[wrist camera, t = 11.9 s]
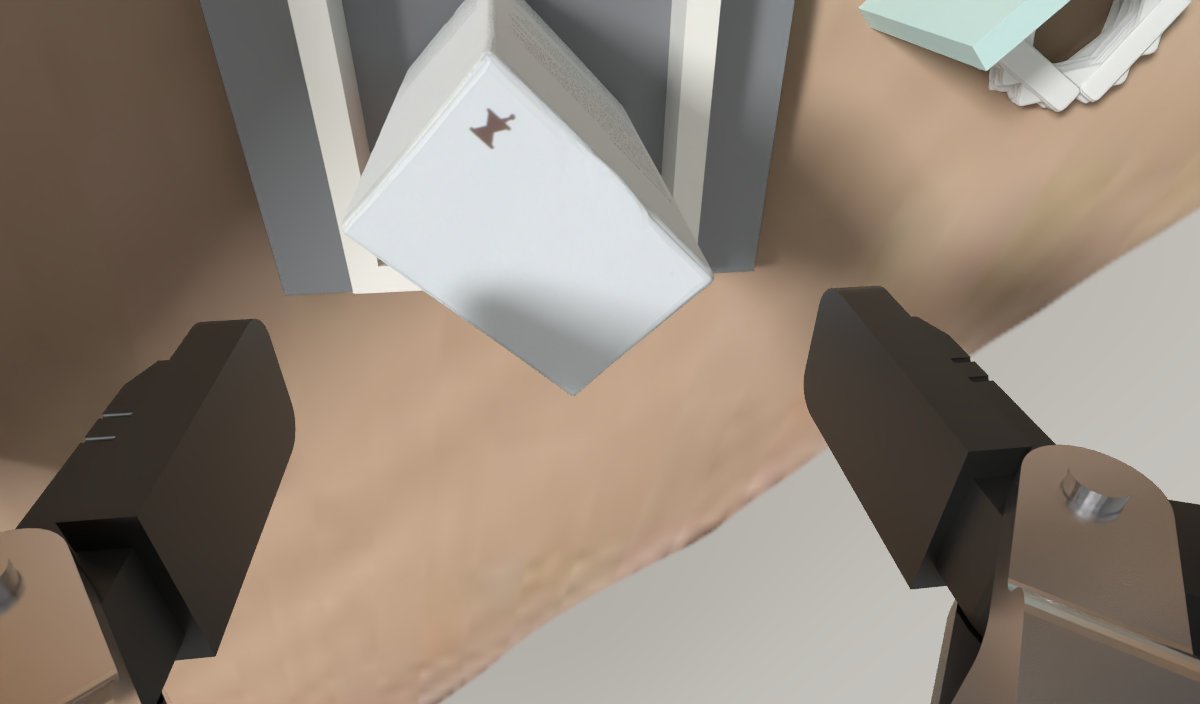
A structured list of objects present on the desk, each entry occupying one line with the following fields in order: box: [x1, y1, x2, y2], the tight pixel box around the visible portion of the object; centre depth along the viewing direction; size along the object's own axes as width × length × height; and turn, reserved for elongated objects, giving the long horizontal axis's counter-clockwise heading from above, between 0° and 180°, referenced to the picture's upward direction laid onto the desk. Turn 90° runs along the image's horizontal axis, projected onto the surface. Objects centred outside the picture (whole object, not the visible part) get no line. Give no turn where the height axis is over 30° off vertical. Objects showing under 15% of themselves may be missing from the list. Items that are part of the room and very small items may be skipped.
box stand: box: [199, 0, 795, 295], centre depth 22 cm, size 18×14×4 cm
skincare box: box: [342, 0, 714, 396], centre depth 17 cm, size 6×4×12 cm
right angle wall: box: [858, 0, 1192, 112], centre depth 22 cm, size 12×12×8 cm
